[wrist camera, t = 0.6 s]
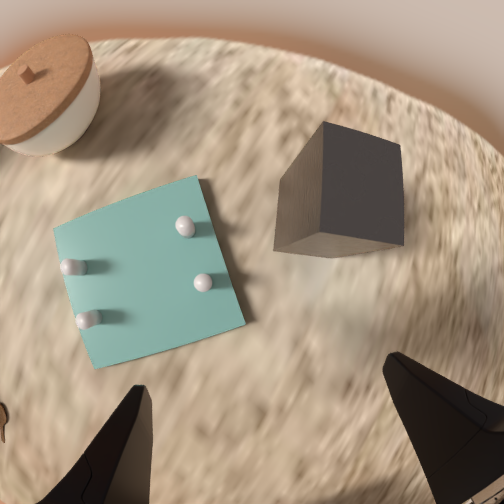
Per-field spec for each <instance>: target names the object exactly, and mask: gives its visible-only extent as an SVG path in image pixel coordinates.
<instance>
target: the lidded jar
mask: <svg viewBox="0 0 504 504" xmlns="http://www.w3.org/2000/svg"><path fill="white" fill-rule="evenodd" d="M100 91H101V88H100V78H99V73H98V69H97V66H96V63H95V61H94V58H93V55H92V51H91V48H90V46H89V44H88V42H87V41H86V40H85V39H84V38H82V37H81V36H78V35H72V34H65V35H59V36H55V37H52V38H49V39H47V40H45V41H43V42H40V43H39V44H37V45H35V46H34V47H32V48H31V49H29V50H28V51H26V52H25V53H24V54H23V55H21V56H20V57H19V58H18V59H17V60H16V61H15V62H14V63H13V64H12V65H11V66H10V67H9V68H8V69H7V70H6V72H5V73H4V74H3V75H2V77H1V78H0V144H3V145H5V146H6V147H8V148H9V149H11V150H13V151H15V152H17V153H20V154H23V155H27V156H31V157H43V156H49V155H52V154H55V153H58V152H60V151H62V150H64V149H65V148H67V147H69V146H70V145H72V144H73V143H75V142H76V141H77V140H78V139H79V138H80V137H81V136H82V135H83V134H84V133H85V131H86V130H87V128H88V126H89V125H90V123H91V122H92V120H93V118H94V116H95V113H96V111H97V108H98V105H99V101H100Z"/></svg>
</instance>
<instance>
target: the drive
mask: <svg viewBox="0 0 504 504" xmlns="http://www.w3.org/2000/svg"><path fill="white" fill-rule="evenodd" d="M401 246H404V191H403V173H402V159H401V148H400V145H399V144H396V143H393V142H391V141H388V140H385V139H382V138H379V137H376V136H373V135H370V134H367V133H363V132H360V131H357V130H354V129H350V128H347V127H343V126H340V125H336V124H332V123H328V122H325V121H323V122H322V124H321V125H320V126H319V128H318V129H317V130H316V132H315V133H314V134H313V136H312V137H311V138H310V140H309V141H308V142H307V144H306V145H305V146H304V148H303V149H302V151H301V152H300V153H299V155H298V156H297V157H296V159H295V160H294V161H293V163H292V164H291V166H290V167H289V168H288V170H287V171H286V172H285V174H284V175H283V177H282V178H281V179H280V185H279V197H278V208H277V218H276V229H275V239H274V249H273V251H277V252H285V253H293V254H301V255H309V256H317V257H325V258H336V257H342V256H348V255H354V254H360V253H366V252H372V251H378V250H384V249H389V248H395V247H401Z"/></svg>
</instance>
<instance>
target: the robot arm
mask: <svg viewBox="0 0 504 504" xmlns="http://www.w3.org/2000/svg"><path fill="white" fill-rule="evenodd" d="M383 375H384V378H385V380H386V383H387V386H388V389H389V392H390V395H391V398H392V400H393V403H394V405H395V407H396V410H397V412H398V414H399V416H400V418H401V420H402V423H403V425H404V427H405V429H406V431H407V434H408V436H409V438H410V440H411V443H412V445H413V447H414V449H415V452H416V454H417V456H418V459H419V461H420V464H421V466H422V468H423V471H424V473H425V476H426V478H427V481H428V483H429V486H430V489H431V491H432V494H433V496H434V499H435V502H436V504H462V503H463V502H465V501H467V500H468V499H470V498H471V500H472V502H471V503H470V504H504V406H502V405H499V404H497V403H495V402H492V401H490V400H487V399H485V398H483V397H481V396H479V395H477V394H475V393H473V392H471V391H469V390H467V389H464V388H463V387H462V386H460V385H458V384H456V383H454V382H452V381H451V380H449V379H447V378H445V377H443V376H442V375H440V374H438V373H436V372H434V371H433V370H431V369H429V368H427V367H425V366H424V365H422V364H420V363H418V362H416V361H415V360H413V359H411V358H409V357H407V356H406V355H404V354H402V353H400V352H393V353H389V354H388V356H387V358H386V361H385V363H384V366H383ZM152 447H153V428H152V400H151V397H150V395H149V392H148V390H147V388H146V386H145V385H134V386H133V387H132V388H131V389H130V391H129V392H128V393H127V395H126V396H125V397H124V399H123V400H122V401H121V403H120V404H119V405H118V407H117V408H116V409H115V411H114V412H113V413H112V415H111V416H110V417H109V419H108V420H107V421H106V423H105V424H104V426H103V427H102V428H101V430H100V431H99V432H98V434H97V435H96V436H95V438H94V439H93V440H92V442H91V443H90V445H89V446H88V447H87V449H86V450H85V451H84V454H82V455H81V457H80V458H79V460H78V461H77V462H76V463H75V465H74V466H73V467H72V469H71V470H70V471H69V472H68V473H67V474H66V475H65V477H64V478H63V479H62V480H61V481H60V482H59V483H58V484H57V485H56V486H55V487H54V488H53V489H52V490H51V491H50V492H49V493H48V494H47V495H46V496H45V497H44V498H43V499H42V500H41V501H39V502H38V503H36V504H149V494H150V475H151V460H152Z"/></svg>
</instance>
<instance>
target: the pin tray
mask: <svg viewBox="0 0 504 504" xmlns="http://www.w3.org/2000/svg"><path fill="white" fill-rule="evenodd" d="M53 230H54V235H55V241H56V246H57V251H58V255H59V260H60V264H61V265H60V268H61V272H62V273H63V277H64V281H65V285H66V288H67V292H68V295H69V299H70V302H71V306H72V309H73V312H74V315H75V318H76V324H77V326H78V327H79V330H80V333H81V336H82V339H83V341H84V344H85V347H86V349H87V352H88V354H89V357H90V359H91V362H92V364H93V367H94V369H98V368H102V367H106V366H110V365H114V364H118V363H122V362H125V361H129V360H133V359H137V358H140V357H144V356H147V355H151V354H155V353H158V352H161V351H165V350H168V349H172V348H175V347H178V346H182V345H185V344H188V343H191V342H194V341H198V340H201V339H204V338H207V337H210V336H213V335H216V334H219V333H222V332H225V331H228V330H231V329H234V328H237V327H240V326H243V325H246V323H245V321H244V318H243V315H242V312H241V309H240V306H239V303H238V301H237V298H236V295H235V292H234V289H233V286H232V283H231V280H230V277H229V274H228V271H227V268H226V265H225V262H224V259H223V256H222V253H221V250H220V247H219V244H218V241H217V238H216V235H215V232H214V229H213V225H212V222H211V219H210V216H209V213H208V210H207V207H206V203H205V200H204V197H203V194H202V191H201V187H200V184H199V181H198V178H197V175H195V176H192V177H188V178H185V179H182V180H179V181H176V182H173V183H169V184H166V185H163V186H160V187H157V188H155V189H152V190H149V191H146V192H143V193H140V194H137V195H135V196H132V197H129V198H126V199H124V200H121V201H118V202H116V203H113V204H111V205H108V206H105V207H103V208H100V209H98V210H95V211H93V212H90V213H88V214H86V215H83V216H81V217H78V218H76V219H74V220H71V221H69V222H67V223H65V224H62V225H60V226H58V227H56V228H53Z"/></svg>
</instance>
